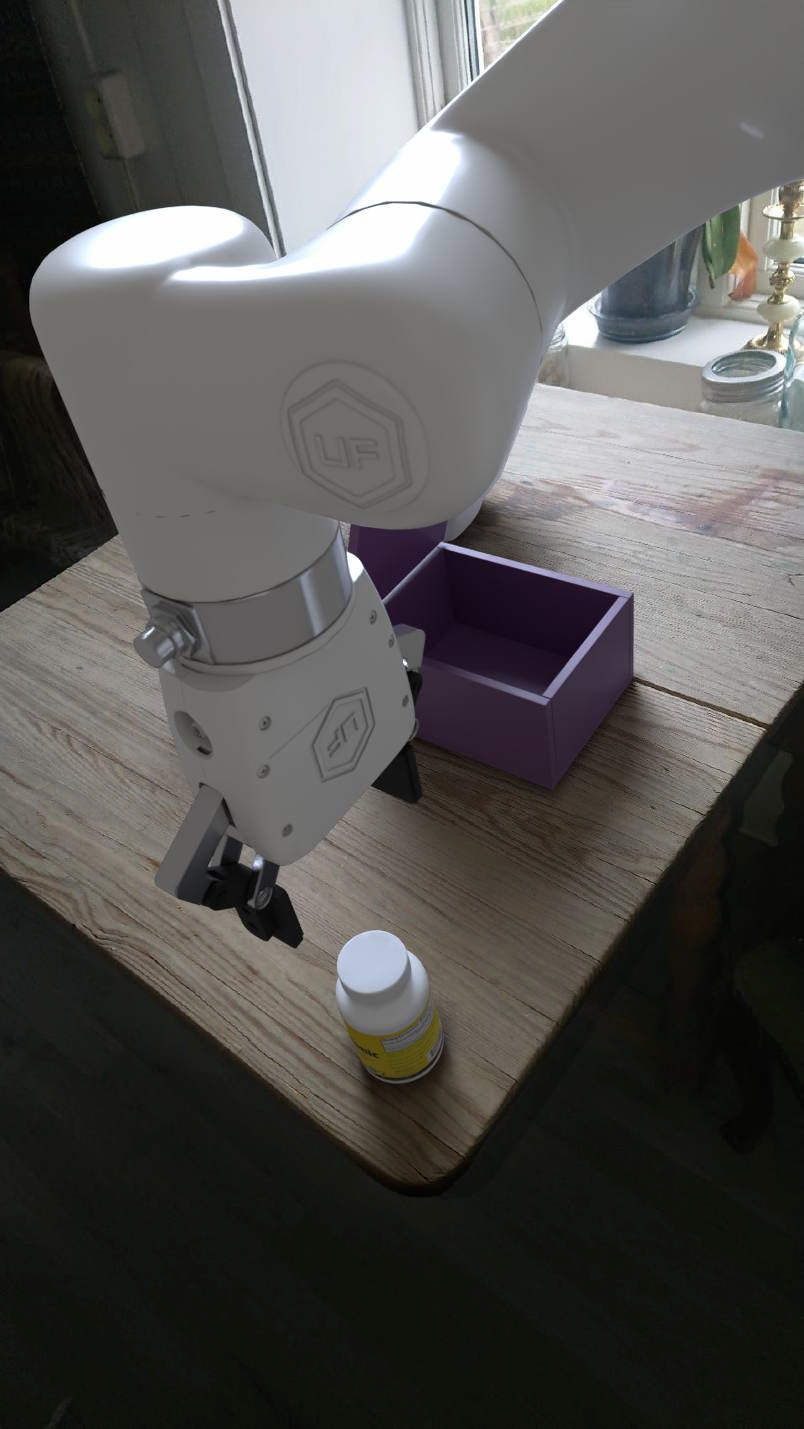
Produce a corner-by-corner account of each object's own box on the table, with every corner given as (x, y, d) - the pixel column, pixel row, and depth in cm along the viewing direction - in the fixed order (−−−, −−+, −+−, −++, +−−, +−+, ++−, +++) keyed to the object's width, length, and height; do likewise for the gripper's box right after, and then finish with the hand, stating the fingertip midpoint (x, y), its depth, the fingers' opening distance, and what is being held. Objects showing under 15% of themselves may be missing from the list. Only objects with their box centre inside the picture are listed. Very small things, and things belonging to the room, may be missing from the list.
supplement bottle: (345, 1027, 61) (310, 943, 55) (423, 990, 62) (398, 902, 56) (377, 1103, 58) (344, 1021, 51) (459, 1062, 59) (437, 977, 52)
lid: (485, 347, 67) (424, 315, 68) (369, 444, 60) (303, 407, 61) (444, 539, 82) (394, 510, 83) (347, 635, 75) (295, 602, 76)
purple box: (633, 677, 80) (634, 592, 74) (552, 790, 72) (545, 706, 66) (453, 621, 88) (441, 541, 82) (365, 717, 81) (344, 637, 75)
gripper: (154, 768, 30) (284, 1035, 42) (459, 482, 39) (495, 768, 51) (7, 693, 34) (164, 957, 46) (316, 448, 43) (380, 722, 55)
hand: (339, 857), depth 48 cm, fingers open, 9 cm apart
